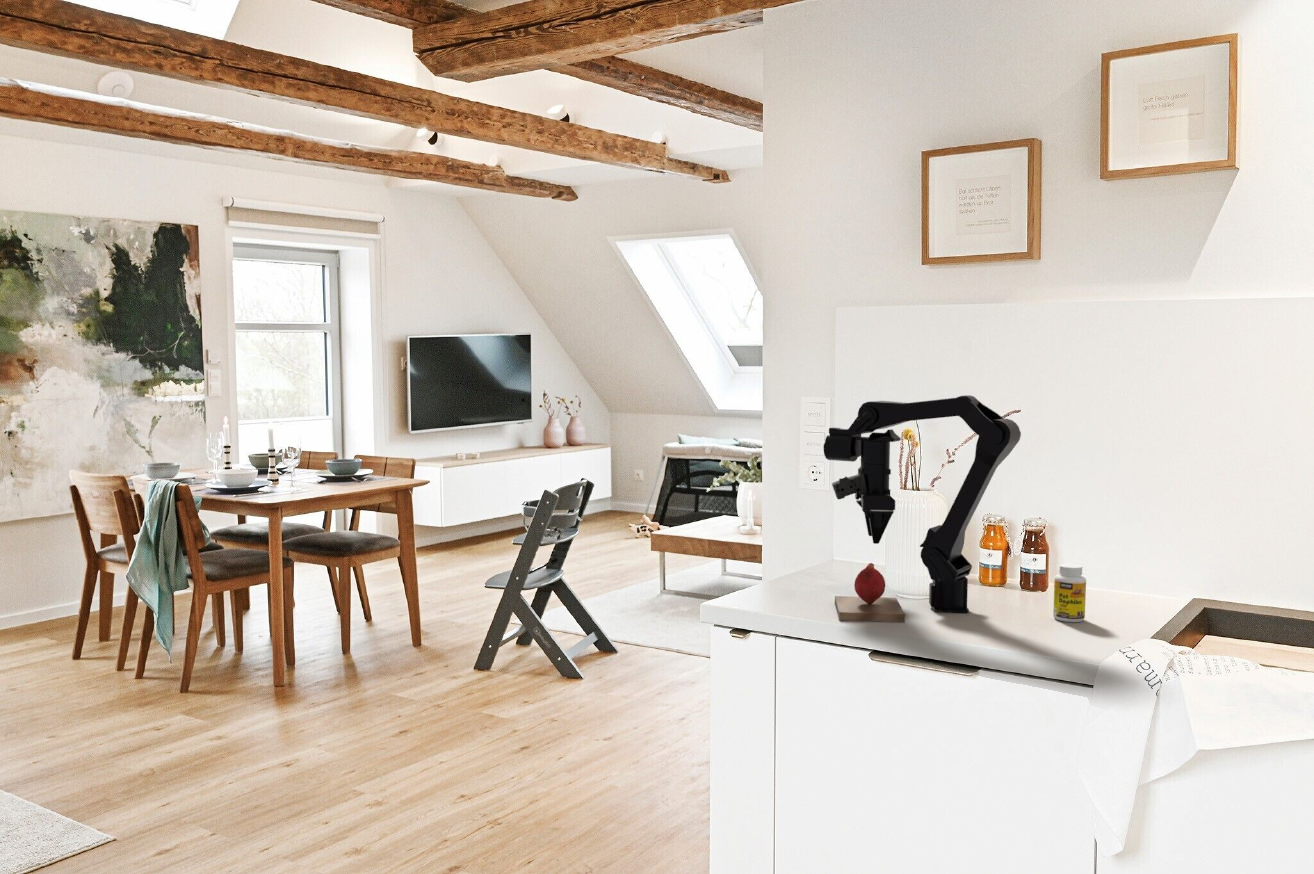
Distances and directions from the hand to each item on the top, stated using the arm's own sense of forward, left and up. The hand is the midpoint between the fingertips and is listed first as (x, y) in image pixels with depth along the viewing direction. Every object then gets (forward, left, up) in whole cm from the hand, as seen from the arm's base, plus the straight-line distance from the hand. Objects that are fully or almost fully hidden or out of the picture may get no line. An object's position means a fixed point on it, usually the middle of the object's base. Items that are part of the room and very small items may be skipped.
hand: (873, 539), depth 219 cm
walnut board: (+2, +13, -12) cm, 18 cm away
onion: (+2, +12, -11) cm, 16 cm away
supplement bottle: (-35, +14, -12) cm, 40 cm away
